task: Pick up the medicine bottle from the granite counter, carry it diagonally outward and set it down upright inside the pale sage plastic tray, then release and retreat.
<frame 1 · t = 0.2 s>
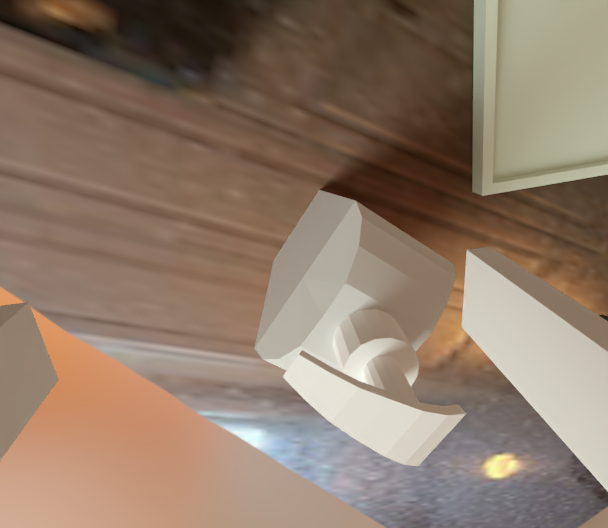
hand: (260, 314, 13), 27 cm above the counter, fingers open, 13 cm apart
tray: (579, 65, 37), on the counter
soap bottle: (316, 237, 41), on the counter
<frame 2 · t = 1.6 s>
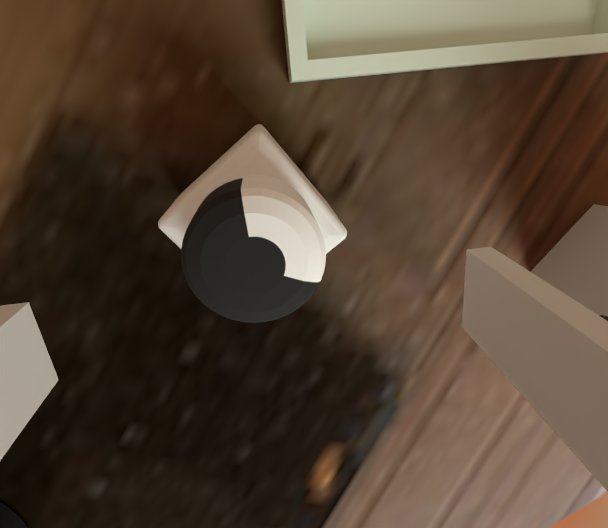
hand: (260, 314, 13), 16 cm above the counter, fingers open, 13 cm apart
soap bottle: (582, 275, 33), on the counter
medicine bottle: (255, 199, 28), on the counter
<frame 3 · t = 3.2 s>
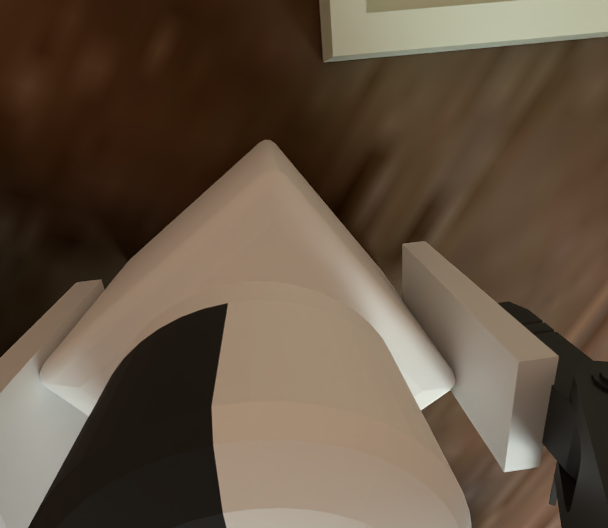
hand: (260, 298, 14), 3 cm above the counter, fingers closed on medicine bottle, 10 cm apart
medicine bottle: (260, 266, 16), on the counter, touching gripper
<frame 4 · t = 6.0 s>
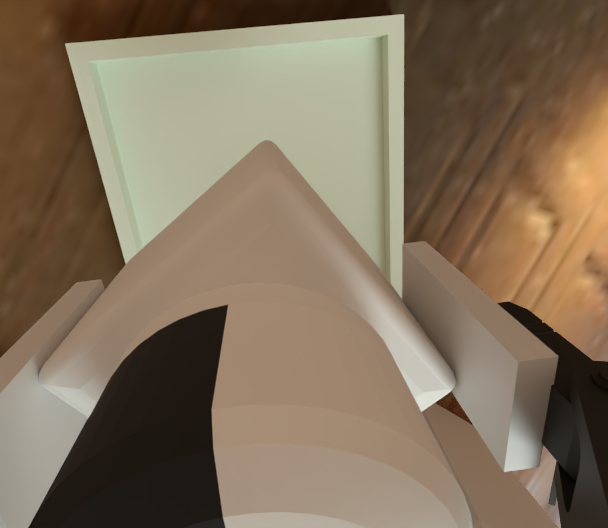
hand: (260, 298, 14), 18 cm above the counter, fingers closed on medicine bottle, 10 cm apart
tray: (260, 189, 30), on the counter
soap bottle: (415, 436, 40), on the counter
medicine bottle: (260, 267, 16), point 15 cm above the counter, touching gripper
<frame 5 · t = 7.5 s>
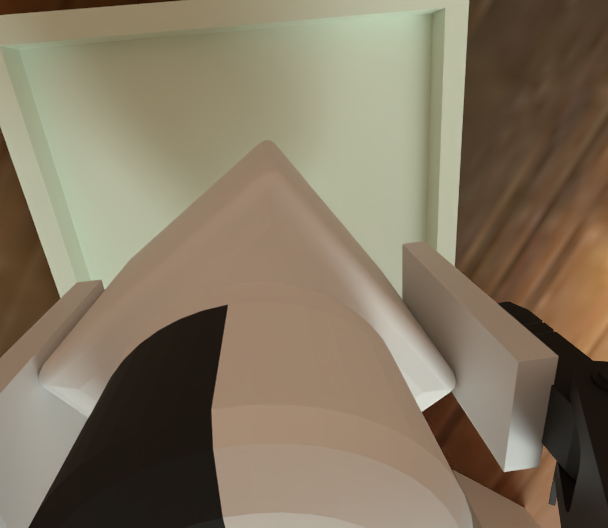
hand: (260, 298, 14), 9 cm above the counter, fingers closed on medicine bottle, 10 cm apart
tray: (258, 225, 22), on the counter
soap bottle: (452, 520, 33), on the counter
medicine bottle: (260, 267, 16), point 6 cm above the counter, touching gripper
when the fingers open (5 cm above the counter, at t = 8.9 s): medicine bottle drops 1 cm, resting on tray.
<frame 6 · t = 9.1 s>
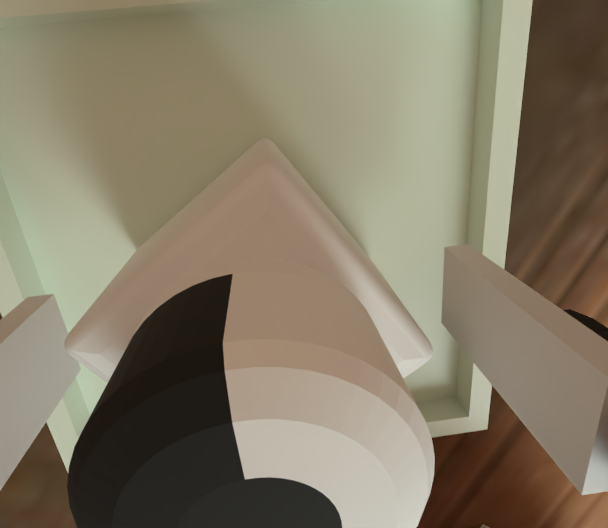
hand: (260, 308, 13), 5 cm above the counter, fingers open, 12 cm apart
tray: (260, 251, 18), on the counter
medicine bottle: (258, 256, 17), resting on tray
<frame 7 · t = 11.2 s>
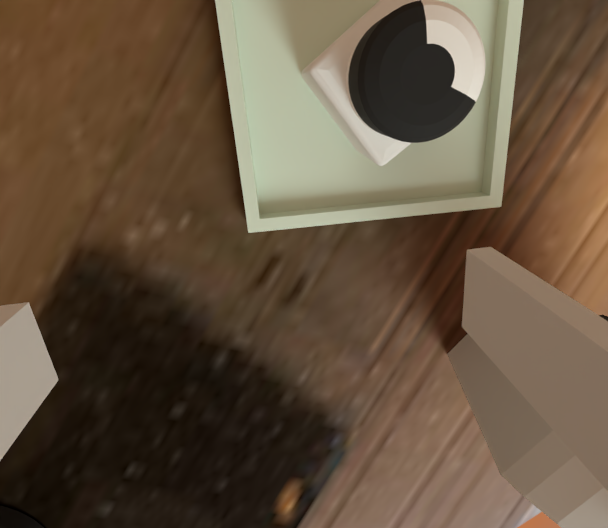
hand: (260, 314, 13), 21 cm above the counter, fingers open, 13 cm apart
tray: (367, 80, 30), on the counter
soap bottle: (492, 355, 41), on the counter
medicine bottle: (368, 81, 30), resting on tray
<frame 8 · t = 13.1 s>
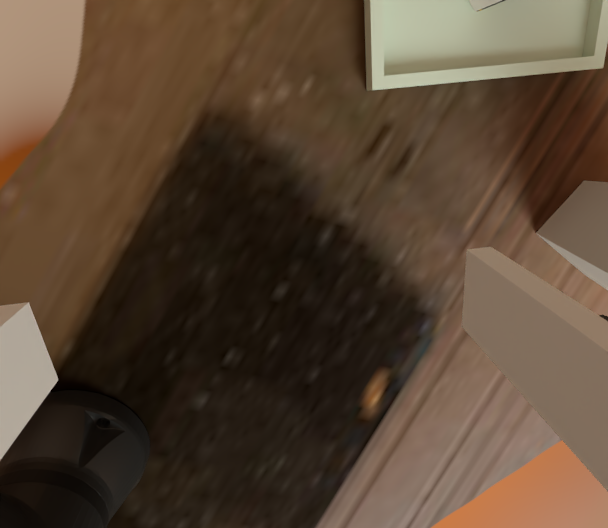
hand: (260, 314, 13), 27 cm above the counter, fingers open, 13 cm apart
soap bottle: (576, 235, 43), on the counter
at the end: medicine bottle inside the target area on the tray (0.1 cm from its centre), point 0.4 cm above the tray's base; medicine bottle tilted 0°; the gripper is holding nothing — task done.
